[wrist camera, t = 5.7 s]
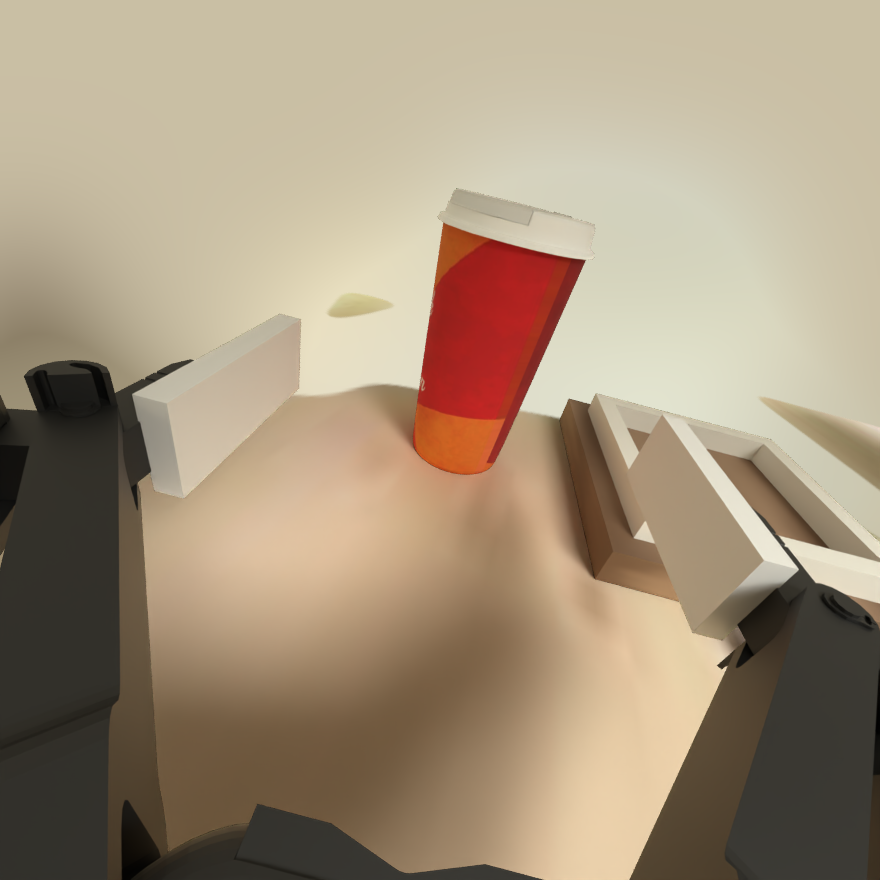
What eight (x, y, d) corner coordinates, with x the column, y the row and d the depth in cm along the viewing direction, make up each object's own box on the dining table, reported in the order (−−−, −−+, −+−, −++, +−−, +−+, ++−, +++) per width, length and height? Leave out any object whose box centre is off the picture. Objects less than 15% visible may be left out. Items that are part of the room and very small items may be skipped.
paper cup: (462, 409, 31) (521, 202, 23) (535, 468, 26) (637, 234, 19) (372, 426, 26) (408, 175, 19) (441, 502, 22) (527, 209, 14)
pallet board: (749, 470, 33) (778, 435, 31) (917, 664, 19) (986, 623, 17) (559, 419, 33) (576, 381, 31) (594, 578, 19) (628, 528, 18)
